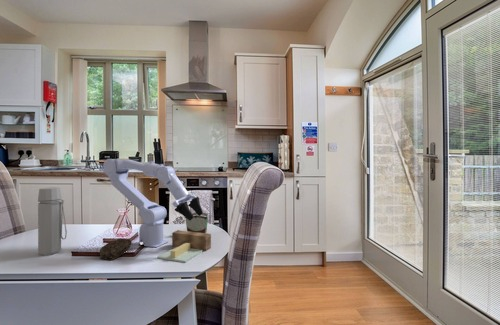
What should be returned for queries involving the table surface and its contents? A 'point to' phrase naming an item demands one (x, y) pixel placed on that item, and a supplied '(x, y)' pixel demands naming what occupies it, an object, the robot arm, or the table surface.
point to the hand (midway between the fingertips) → (196, 216)
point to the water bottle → (50, 221)
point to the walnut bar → (192, 239)
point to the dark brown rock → (115, 248)
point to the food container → (197, 223)
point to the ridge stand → (180, 253)
